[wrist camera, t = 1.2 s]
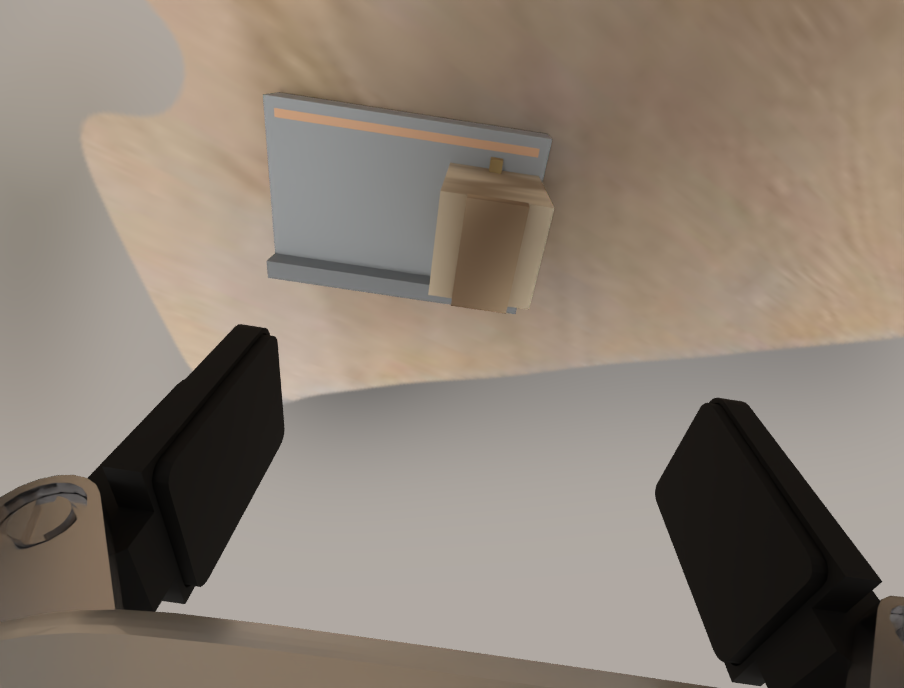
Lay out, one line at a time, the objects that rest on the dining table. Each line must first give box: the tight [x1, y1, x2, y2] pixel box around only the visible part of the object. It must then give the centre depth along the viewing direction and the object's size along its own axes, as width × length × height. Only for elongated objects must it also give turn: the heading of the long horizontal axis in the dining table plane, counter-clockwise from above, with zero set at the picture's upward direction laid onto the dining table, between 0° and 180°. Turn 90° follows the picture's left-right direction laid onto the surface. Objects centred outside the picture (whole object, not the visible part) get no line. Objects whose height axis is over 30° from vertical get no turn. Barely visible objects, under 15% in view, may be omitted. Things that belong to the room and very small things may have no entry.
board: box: [263, 92, 552, 314], centre depth 24 cm, size 14×9×3 cm, turn 82°
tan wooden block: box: [428, 157, 555, 314], centre depth 21 cm, size 4×5×7 cm
